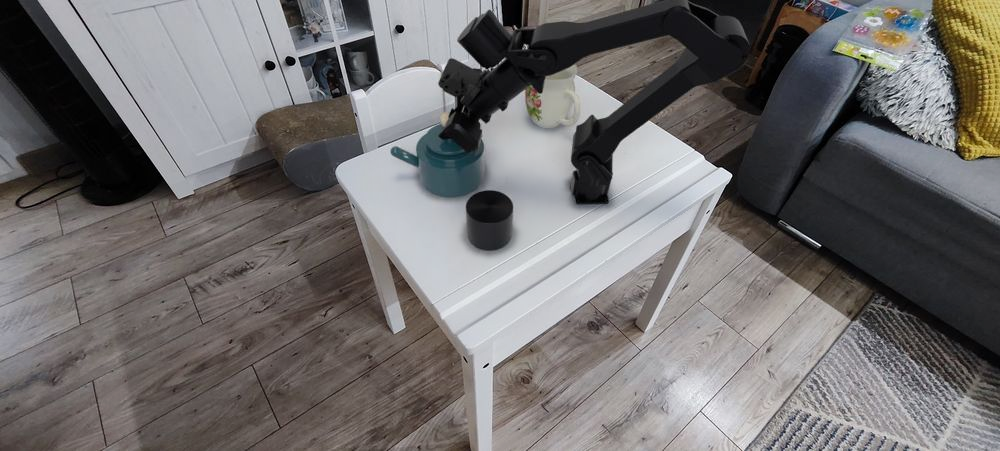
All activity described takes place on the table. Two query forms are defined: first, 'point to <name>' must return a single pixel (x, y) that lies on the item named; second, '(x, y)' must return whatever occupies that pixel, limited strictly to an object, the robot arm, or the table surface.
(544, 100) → the pitcher
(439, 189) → the teapot
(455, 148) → the teapot lid
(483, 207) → the tea tin
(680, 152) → the table surface
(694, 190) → the table surface
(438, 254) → the table surface
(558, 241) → the table surface
